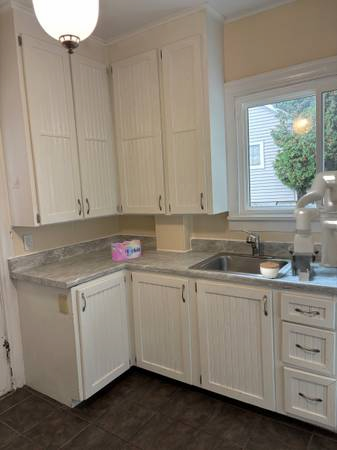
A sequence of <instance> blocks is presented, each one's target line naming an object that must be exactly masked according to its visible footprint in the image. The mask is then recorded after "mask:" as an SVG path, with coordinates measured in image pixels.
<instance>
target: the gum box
mask: <svg viewBox="0 0 337 450" xmlns="http://www.w3.org/2000/svg"><path fill="white" fill-rule="evenodd" d="M110 246H111V248H110V249H111V260H112V261H115V262H121V261H126V260H130V259H135V258H140V257H142V246H141V239H138V238H132V239H126V240H120V241H116V242H111V243H110Z"/></svg>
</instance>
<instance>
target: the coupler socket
mask: <svg viewBox="0 0 337 450" xmlns="http://www.w3.org/2000/svg"><path fill="white" fill-rule="evenodd" d="M290 255H291V256H290V258H291V259H290V264H291V265H290V268H291V270H292V271H291V276H292V277H296V270H298V269H308V272H309V275H310V276H311V277H310V276H309V277H310V278H314V277H313V275H314V272H313V268H312V266H311V259H312V256H311V254H295V259H296V262H295V263H294V261H293V255H292V254H290Z"/></svg>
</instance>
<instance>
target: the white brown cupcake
mask: <svg viewBox="0 0 337 450" xmlns="http://www.w3.org/2000/svg"><path fill="white" fill-rule="evenodd" d="M259 268H260V269H259V270H260V274H261V275H262V277H263V278H264V277H265V278H264V279H266V278H274V279H276V277H277V276H279V272H280V264H279V263H277V262H271V261H267V262H261V263H260V264H259Z"/></svg>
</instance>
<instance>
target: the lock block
mask: <svg viewBox="0 0 337 450" xmlns="http://www.w3.org/2000/svg"><path fill="white" fill-rule="evenodd" d="M297 270H298V271H297V272H298V273H297V274H298V275H297V276H298V277H297V278H299V279H298V281H299V282H308V281H309V282H310V276H309V272H308V270H307V269H297Z"/></svg>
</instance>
